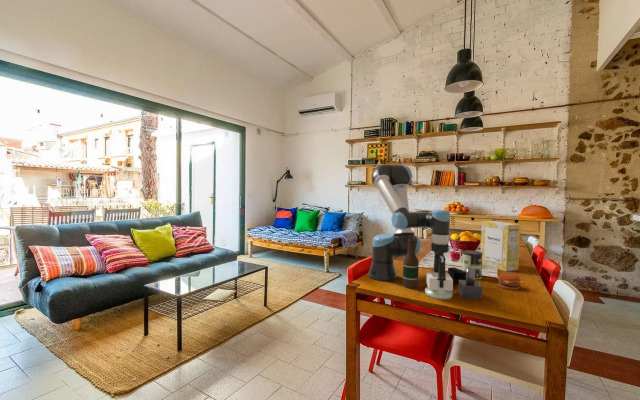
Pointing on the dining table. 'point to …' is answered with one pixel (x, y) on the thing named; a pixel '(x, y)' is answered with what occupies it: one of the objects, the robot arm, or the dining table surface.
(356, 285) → the dining table surface
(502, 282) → the hamburger
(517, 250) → the pasta box
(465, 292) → the post stand
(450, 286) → the white square open box
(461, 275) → the digital camera
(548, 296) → the dining table surface
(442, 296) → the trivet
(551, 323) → the dining table surface
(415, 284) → the beer bottle
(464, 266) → the coffee can
